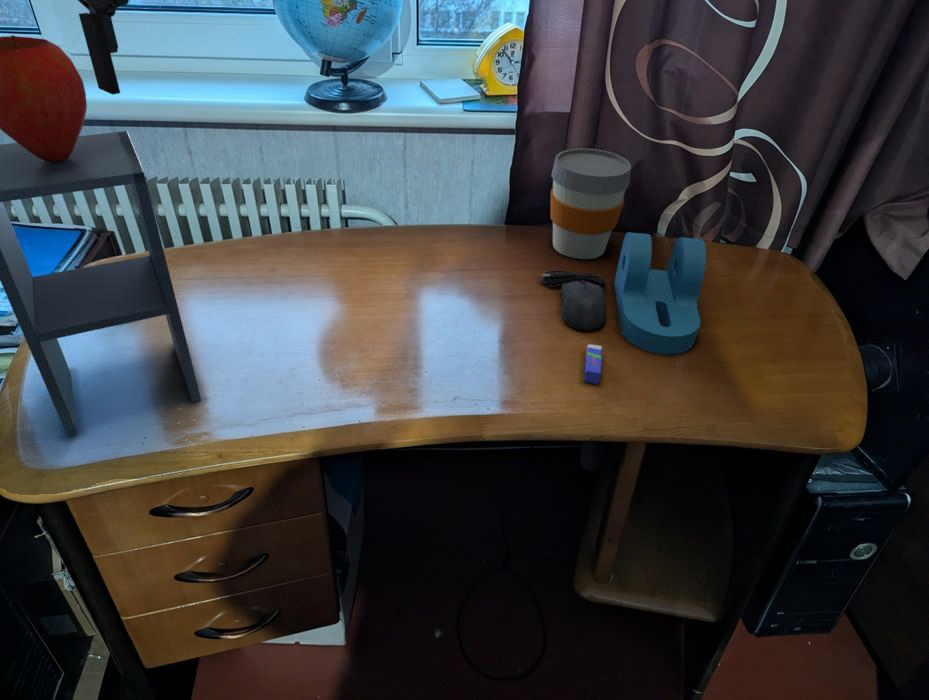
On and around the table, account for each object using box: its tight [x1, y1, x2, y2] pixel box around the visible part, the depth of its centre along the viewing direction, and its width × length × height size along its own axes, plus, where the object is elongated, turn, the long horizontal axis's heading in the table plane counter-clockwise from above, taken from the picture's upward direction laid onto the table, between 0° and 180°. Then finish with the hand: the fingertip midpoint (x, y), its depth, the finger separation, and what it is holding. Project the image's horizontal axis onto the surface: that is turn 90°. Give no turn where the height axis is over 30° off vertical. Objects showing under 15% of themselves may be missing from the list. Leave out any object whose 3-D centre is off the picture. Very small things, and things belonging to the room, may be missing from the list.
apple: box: [0, 34, 88, 162], centre depth 59 cm, size 9×8×11 cm
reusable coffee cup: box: [550, 147, 632, 260], centre depth 109 cm, size 13×13×15 cm
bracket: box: [613, 231, 707, 355], centre depth 93 cm, size 18×10×10 cm, turn 173°
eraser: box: [583, 343, 603, 385], centre depth 85 cm, size 2×6×2 cm, turn 168°
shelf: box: [0, 130, 202, 438], centre depth 70 cm, size 12×14×28 cm
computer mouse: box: [541, 269, 607, 332], centre depth 97 cm, size 10×15×4 cm
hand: (34, 104), depth 59 cm, fingers open, 13 cm apart
